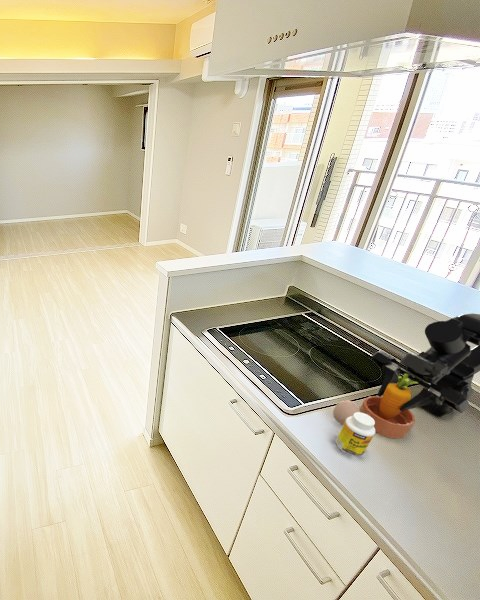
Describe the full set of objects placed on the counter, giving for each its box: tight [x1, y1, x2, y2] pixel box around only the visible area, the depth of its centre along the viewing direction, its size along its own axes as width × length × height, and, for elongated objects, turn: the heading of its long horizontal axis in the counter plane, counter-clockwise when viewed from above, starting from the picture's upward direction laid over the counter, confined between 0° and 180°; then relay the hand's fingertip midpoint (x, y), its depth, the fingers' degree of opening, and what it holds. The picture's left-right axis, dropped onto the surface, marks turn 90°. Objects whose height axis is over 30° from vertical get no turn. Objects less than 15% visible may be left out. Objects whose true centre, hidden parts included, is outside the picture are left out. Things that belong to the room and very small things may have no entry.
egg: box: [332, 399, 360, 426], centre depth 86 cm, size 5×5×7 cm
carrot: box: [379, 374, 419, 420], centre depth 83 cm, size 5×5×15 cm
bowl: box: [359, 395, 416, 439], centre depth 86 cm, size 10×10×5 cm
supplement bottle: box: [335, 412, 376, 457], centre depth 79 cm, size 6×6×10 cm
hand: (389, 402), depth 83 cm, fingers closed on carrot, 5 cm apart
